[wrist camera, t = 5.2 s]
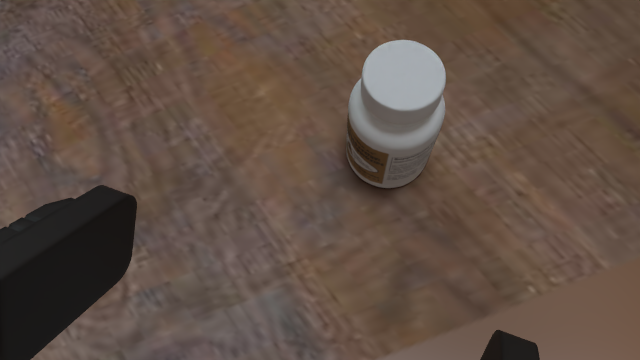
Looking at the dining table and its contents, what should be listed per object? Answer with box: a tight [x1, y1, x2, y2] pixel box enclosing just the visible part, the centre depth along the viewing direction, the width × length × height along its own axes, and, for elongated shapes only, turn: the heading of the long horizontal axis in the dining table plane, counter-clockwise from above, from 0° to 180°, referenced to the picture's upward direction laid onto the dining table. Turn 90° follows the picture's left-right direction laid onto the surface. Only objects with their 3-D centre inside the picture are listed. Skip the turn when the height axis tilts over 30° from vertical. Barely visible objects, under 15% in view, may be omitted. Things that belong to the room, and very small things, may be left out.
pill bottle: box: [346, 40, 446, 188], centre depth 25 cm, size 4×4×8 cm
